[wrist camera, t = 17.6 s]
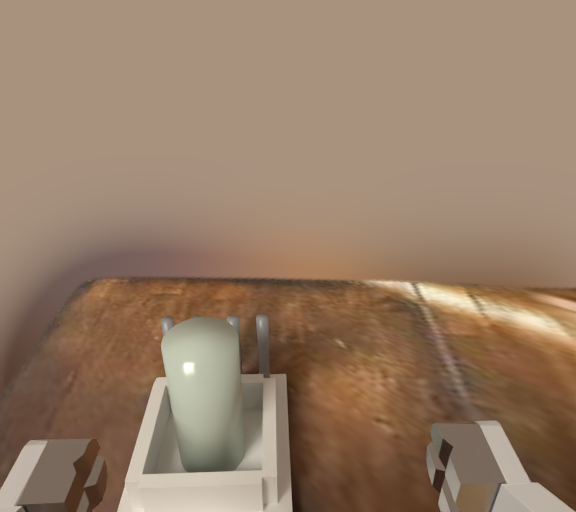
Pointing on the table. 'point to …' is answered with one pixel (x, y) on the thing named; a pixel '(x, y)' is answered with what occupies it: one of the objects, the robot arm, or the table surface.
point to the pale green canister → (205, 393)
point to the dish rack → (216, 485)
